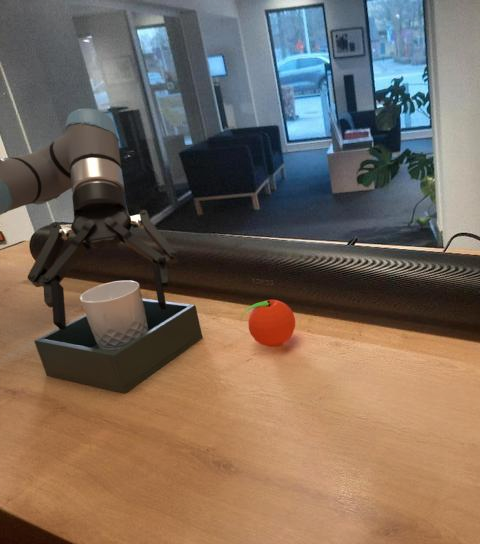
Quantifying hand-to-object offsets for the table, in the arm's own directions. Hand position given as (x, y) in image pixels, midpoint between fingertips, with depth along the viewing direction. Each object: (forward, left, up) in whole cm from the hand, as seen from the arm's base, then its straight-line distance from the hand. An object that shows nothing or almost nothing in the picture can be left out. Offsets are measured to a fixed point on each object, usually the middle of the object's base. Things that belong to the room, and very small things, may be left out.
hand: (112, 316), depth 71 cm
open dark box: (-1, +1, -7) cm, 7 cm away
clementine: (+19, +10, -8) cm, 23 cm away
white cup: (-1, +1, -7) cm, 7 cm away
